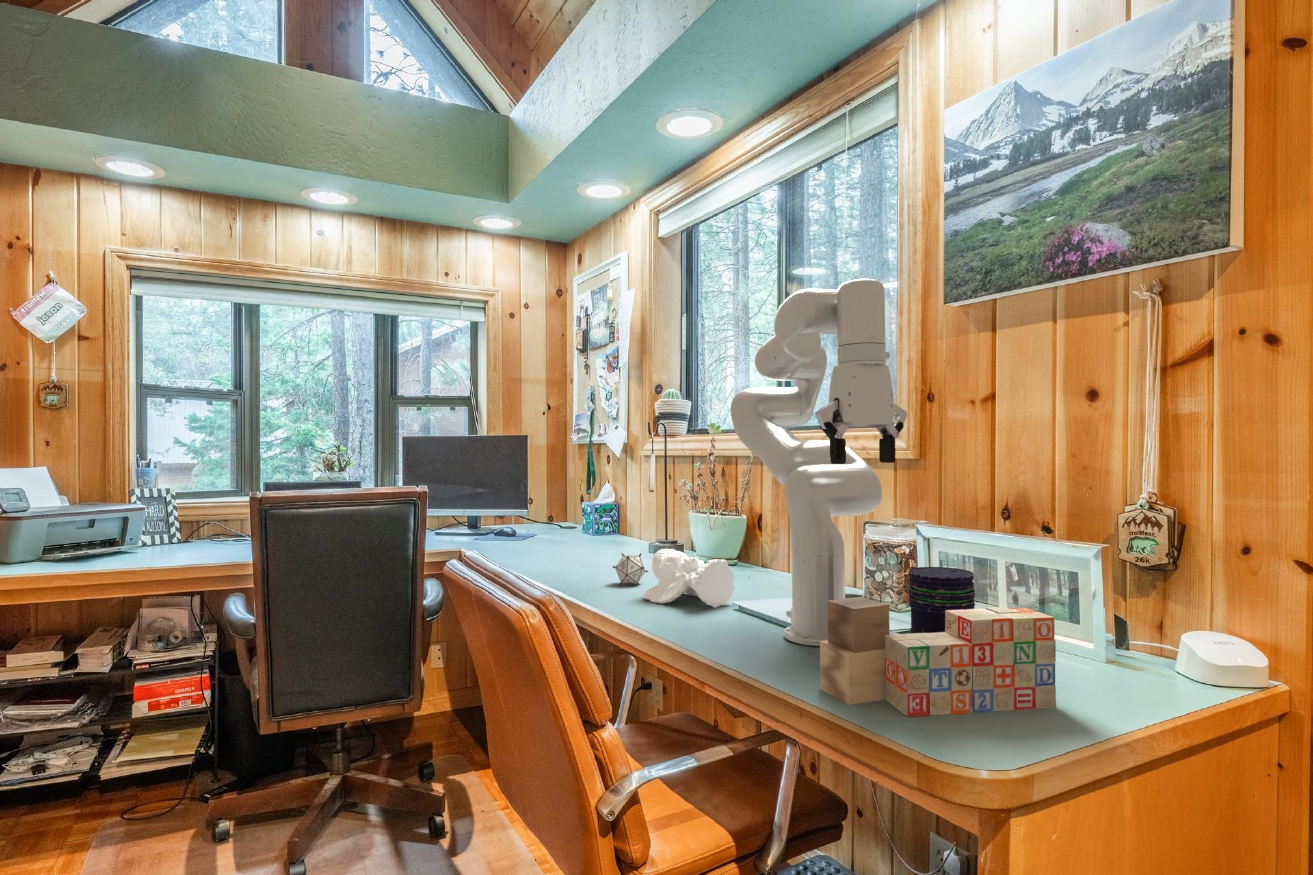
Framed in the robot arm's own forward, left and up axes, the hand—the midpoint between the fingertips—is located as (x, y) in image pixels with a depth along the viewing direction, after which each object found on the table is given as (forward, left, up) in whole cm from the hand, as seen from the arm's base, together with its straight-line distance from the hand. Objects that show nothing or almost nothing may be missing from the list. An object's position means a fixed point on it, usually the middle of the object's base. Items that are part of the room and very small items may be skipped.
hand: (863, 463), depth 116 cm
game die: (-79, -12, -32) cm, 86 cm away
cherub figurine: (-54, -7, -33) cm, 64 cm away
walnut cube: (+11, -10, -25) cm, 29 cm away
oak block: (+11, -10, -32) cm, 36 cm away
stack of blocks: (+20, +1, -33) cm, 38 cm away
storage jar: (+6, +10, -32) cm, 35 cm away
